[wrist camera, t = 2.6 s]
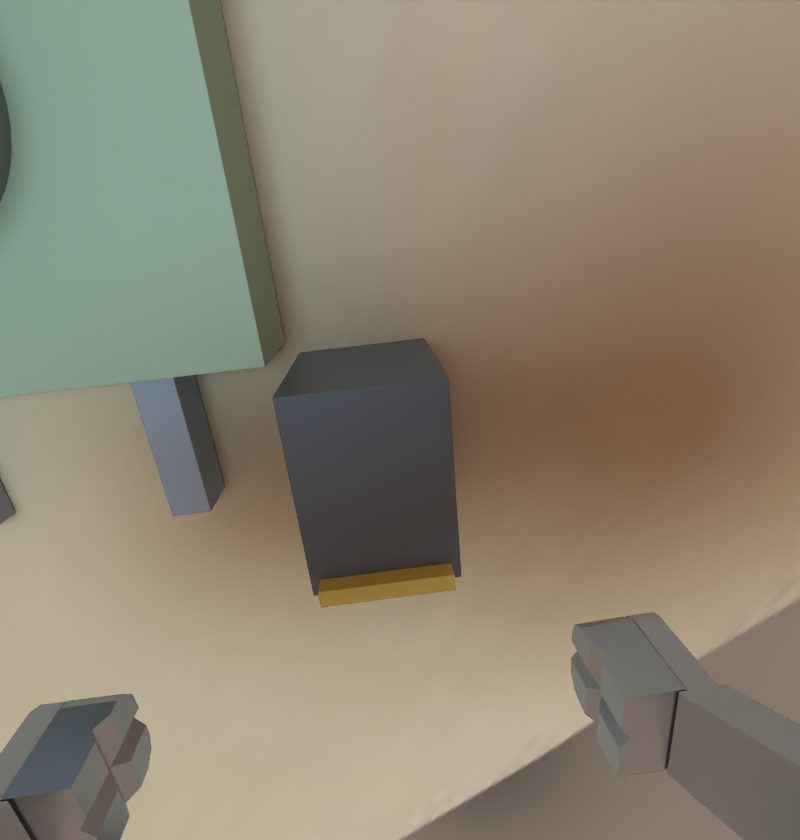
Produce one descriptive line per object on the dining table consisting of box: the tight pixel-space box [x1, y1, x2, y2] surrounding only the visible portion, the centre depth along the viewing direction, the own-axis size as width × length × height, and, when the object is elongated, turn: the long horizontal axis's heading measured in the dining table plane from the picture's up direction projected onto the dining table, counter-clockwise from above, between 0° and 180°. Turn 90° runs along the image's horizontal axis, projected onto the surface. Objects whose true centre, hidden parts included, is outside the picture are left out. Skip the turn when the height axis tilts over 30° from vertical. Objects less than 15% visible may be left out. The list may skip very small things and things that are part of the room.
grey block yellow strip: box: [273, 338, 461, 607], centre depth 17 cm, size 5×7×7 cm
